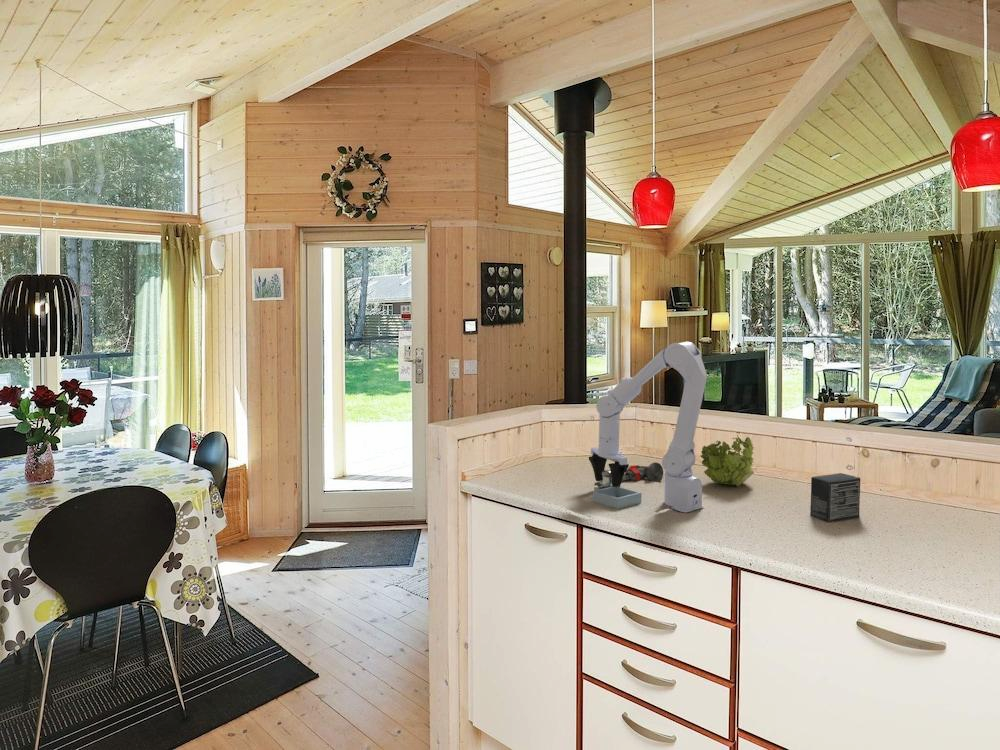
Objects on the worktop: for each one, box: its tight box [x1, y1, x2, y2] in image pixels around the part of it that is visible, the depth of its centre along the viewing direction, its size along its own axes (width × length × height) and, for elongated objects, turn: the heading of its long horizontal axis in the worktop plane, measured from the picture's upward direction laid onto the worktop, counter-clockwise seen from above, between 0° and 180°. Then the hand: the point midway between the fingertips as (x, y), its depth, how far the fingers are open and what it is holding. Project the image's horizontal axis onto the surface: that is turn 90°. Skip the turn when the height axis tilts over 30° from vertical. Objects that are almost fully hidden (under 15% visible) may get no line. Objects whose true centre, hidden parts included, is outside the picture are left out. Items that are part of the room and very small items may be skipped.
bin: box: [592, 486, 642, 510], centre depth 184 cm, size 9×9×4 cm
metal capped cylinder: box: [602, 469, 612, 489], centre depth 193 cm, size 4×4×6 cm
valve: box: [594, 461, 664, 487], centre depth 210 cm, size 6×26×15 cm
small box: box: [809, 472, 861, 523], centre depth 173 cm, size 11×6×10 cm, turn 111°
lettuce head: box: [700, 435, 755, 488], centre depth 205 cm, size 18×16×16 cm
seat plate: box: [593, 486, 603, 491], centre depth 194 cm, size 6×6×2 cm
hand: (607, 484), depth 194 cm, fingers open, 7 cm apart
